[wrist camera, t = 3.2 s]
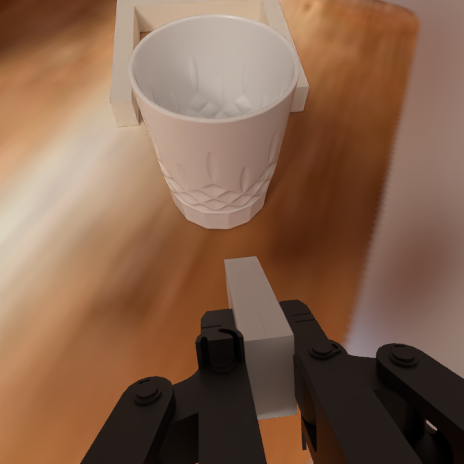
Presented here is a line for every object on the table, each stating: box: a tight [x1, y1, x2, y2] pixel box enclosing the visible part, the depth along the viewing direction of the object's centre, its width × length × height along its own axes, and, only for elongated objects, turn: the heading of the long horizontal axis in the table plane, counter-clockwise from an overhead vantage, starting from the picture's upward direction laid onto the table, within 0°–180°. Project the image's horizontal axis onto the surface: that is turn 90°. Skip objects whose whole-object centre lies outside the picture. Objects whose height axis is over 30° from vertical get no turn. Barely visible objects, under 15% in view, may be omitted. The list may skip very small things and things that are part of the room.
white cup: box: [128, 14, 300, 229], centre depth 20 cm, size 8×8×10 cm
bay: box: [110, 0, 309, 127], centre depth 30 cm, size 15×15×2 cm
